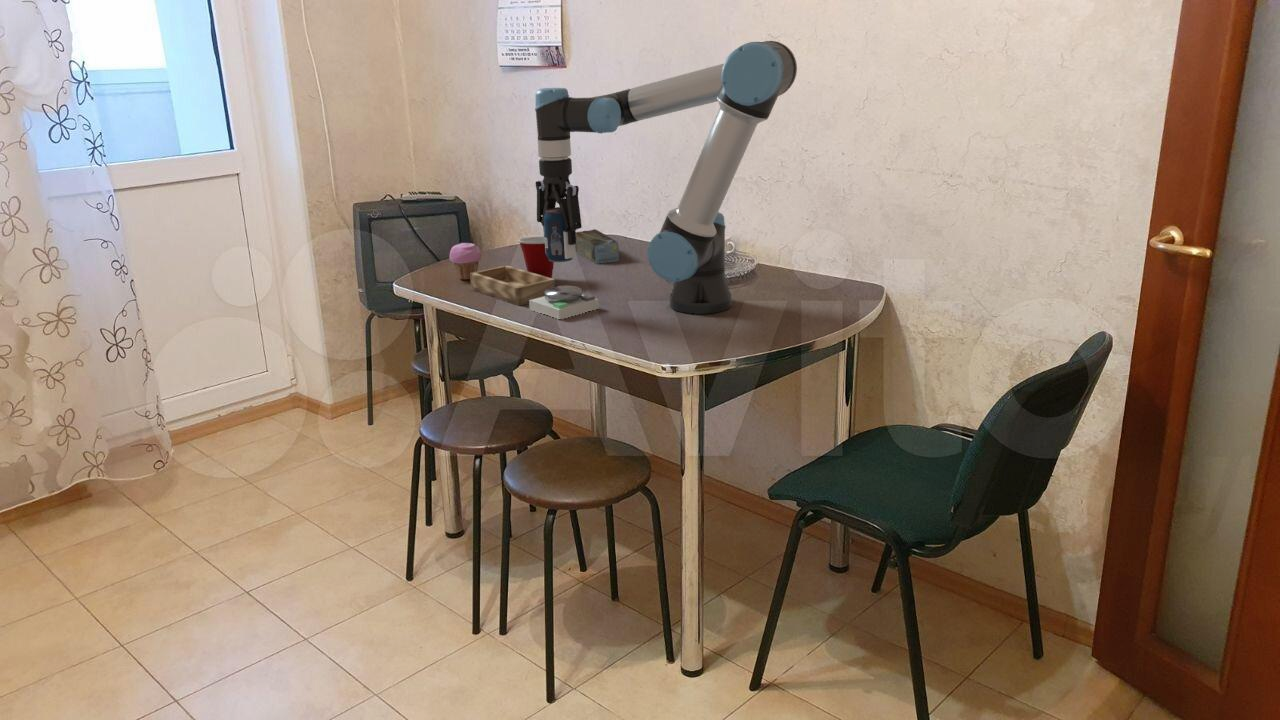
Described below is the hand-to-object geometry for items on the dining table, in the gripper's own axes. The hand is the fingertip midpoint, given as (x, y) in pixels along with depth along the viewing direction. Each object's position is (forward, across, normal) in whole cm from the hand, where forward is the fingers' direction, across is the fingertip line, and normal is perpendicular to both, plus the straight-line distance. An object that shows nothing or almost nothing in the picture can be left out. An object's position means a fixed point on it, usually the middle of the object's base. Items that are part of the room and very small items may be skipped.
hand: (560, 254), depth 223 cm
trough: (+14, +22, 0) cm, 26 cm away
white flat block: (+14, 0, 0) cm, 14 cm away
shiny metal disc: (+10, 0, 0) cm, 10 cm away
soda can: (+1, 0, 0) cm, 1 cm away
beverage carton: (+14, +37, -40) cm, 56 cm away
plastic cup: (+14, +26, -12) cm, 32 cm away
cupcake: (+14, +44, 0) cm, 46 cm away
